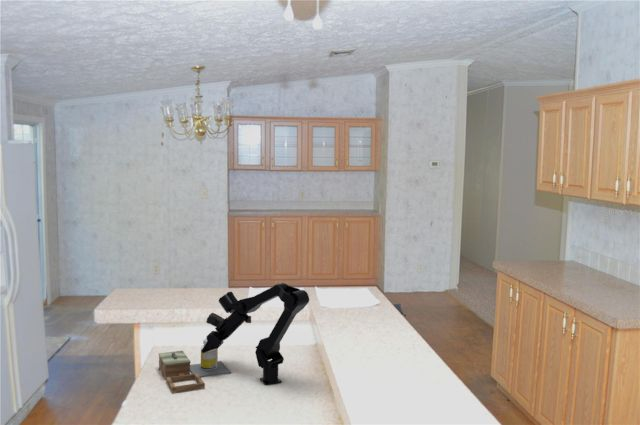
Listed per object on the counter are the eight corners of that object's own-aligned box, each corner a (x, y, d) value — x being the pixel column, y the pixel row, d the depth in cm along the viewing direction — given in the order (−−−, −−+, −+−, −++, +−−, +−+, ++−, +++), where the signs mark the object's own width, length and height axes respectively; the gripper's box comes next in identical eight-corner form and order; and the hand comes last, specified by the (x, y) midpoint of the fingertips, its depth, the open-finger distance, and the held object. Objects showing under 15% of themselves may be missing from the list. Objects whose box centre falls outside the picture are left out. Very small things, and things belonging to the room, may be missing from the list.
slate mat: (231, 373, 211) (231, 371, 211) (195, 378, 205) (195, 376, 205) (221, 362, 223) (221, 360, 223) (186, 366, 217) (186, 365, 217)
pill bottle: (208, 364, 218) (208, 336, 218) (220, 367, 215) (221, 338, 214) (197, 369, 213) (197, 340, 212) (209, 372, 209) (209, 342, 209)
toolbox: (204, 388, 194) (204, 369, 194) (172, 393, 189) (172, 373, 189) (187, 364, 219) (187, 347, 219) (158, 368, 214) (158, 350, 214)
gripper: (225, 301, 222) (199, 327, 223) (212, 312, 203) (183, 340, 205) (244, 321, 221) (217, 347, 223) (232, 334, 203) (203, 361, 204)
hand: (205, 348), depth 214 cm, fingers open, 9 cm apart
